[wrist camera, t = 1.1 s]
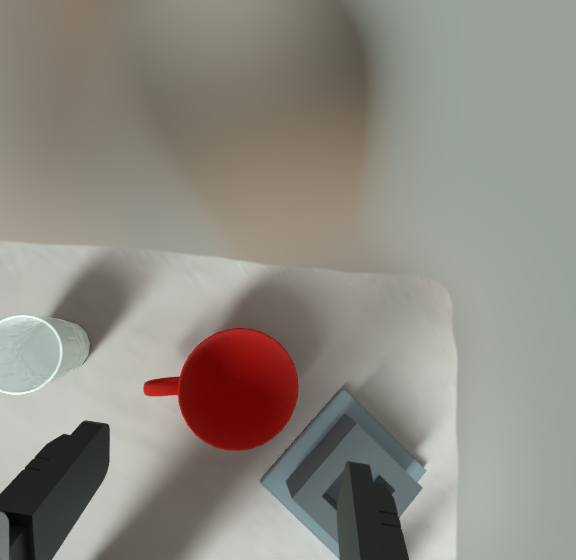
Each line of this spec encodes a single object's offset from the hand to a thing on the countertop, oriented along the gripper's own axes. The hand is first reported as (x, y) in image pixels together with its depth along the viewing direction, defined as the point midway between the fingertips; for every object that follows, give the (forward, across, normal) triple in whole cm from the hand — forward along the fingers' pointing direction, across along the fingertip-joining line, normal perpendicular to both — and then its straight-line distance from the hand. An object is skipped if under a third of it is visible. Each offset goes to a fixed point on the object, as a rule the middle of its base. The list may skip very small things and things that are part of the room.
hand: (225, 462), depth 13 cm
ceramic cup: (+35, -6, -19) cm, 40 cm away
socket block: (+32, +12, -29) cm, 45 cm away
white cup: (+32, -26, -17) cm, 45 cm away
